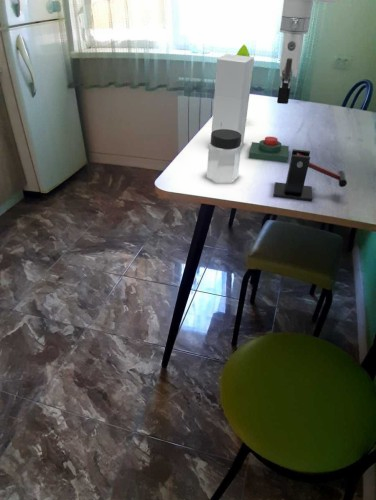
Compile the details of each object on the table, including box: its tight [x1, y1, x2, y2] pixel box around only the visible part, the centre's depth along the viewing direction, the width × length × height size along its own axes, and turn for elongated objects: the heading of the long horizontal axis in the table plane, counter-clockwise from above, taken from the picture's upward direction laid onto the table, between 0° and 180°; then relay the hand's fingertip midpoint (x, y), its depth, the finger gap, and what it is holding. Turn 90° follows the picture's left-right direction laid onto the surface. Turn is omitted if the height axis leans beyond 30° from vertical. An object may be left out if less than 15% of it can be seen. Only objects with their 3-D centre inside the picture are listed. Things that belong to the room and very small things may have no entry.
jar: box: [206, 129, 243, 184], centre depth 113 cm, size 9×8×12 cm
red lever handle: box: [296, 153, 348, 188], centre depth 106 cm, size 14×6×2 cm, turn 79°
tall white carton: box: [210, 53, 255, 146], centre depth 128 cm, size 9×9×25 cm
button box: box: [248, 139, 290, 164], centre depth 130 cm, size 12×10×4 cm
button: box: [264, 136, 279, 146], centre depth 129 cm, size 4×4×2 cm
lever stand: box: [272, 148, 313, 202], centre depth 108 cm, size 10×8×11 cm
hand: (282, 102), depth 121 cm, fingers closed
